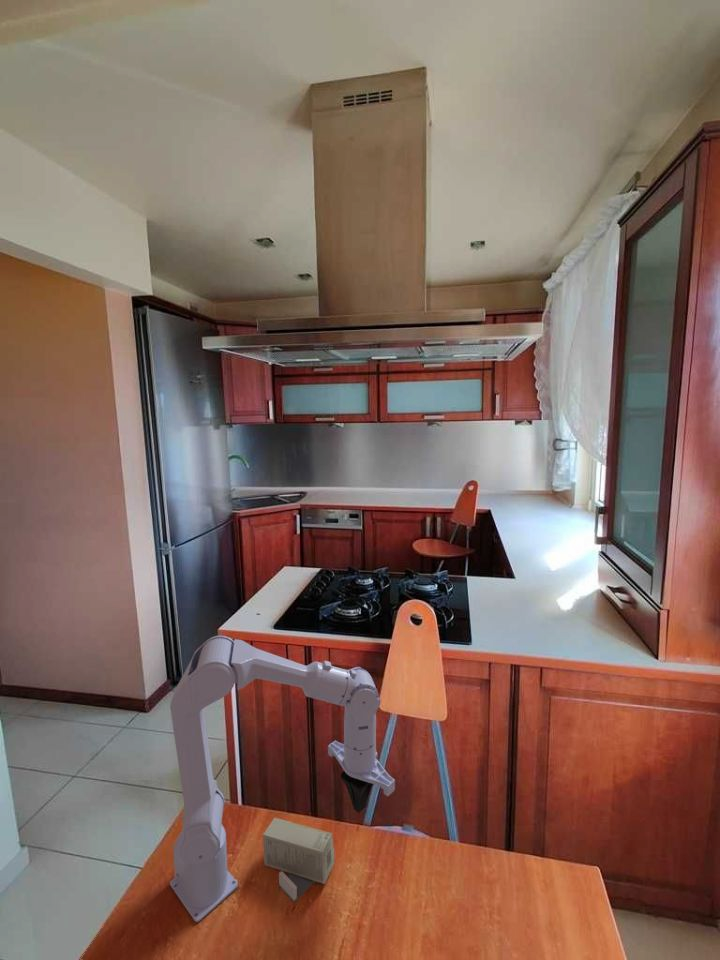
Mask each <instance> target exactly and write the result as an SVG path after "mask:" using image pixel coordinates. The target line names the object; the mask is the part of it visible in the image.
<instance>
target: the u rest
mask: <svg viewBox="0 0 720 960" xmlns="http://www.w3.org/2000/svg"><path fill="white" fill-rule="evenodd" d="M333 849H334V863H335V862H336V861H335V859H336V857H335V848H334V847H333ZM314 883H316V881H313V880H310V879H307V878H304V877H301V876H297V875H294V874H291V873H289V875H288V876H287V875H286V873H284V871H282V870H280V872H279V873H278V884H279V885H278V886H279V888H280V890H282V891H283V892H284V893H285V894H286V895H287V897H288V898H289V899H290V900H291V901H292V902H293V903H296V902H297V901H298V900H299V899H300V897H302V895H303V894H304V893H305V892H306V891H308V889H309V888H311V887H312V885H313V884H314Z"/></svg>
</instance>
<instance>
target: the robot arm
mask: <svg viewBox="0 0 720 960" xmlns="http://www.w3.org/2000/svg"><path fill="white" fill-rule="evenodd" d="M254 680H263V681H268V682H272V683H277V684H278V683H279V684H283V685H288V686H293V687H299V688H301V689H302V691H303V694H304V695H305V697H307V698H311V699H315V700H318V701H323V702H325V703H329V704H333V705H337V706H341V707H344V715H343V743H341V742H339V741H337V740H334V741H333V742H330V744H328V746H327V755H328V756H330V757H331V758H333V757H335V758H336V760H337V762H338V763H339V765H340V766H341V768H342V770H343V771H341V774H340V779H341V780H342V782H343V783H344V785H345V787H346V789H347V792H348V795H349V798H350V801H351V804H352V807H353V810H354V811H355V812H356V813H358V814H359V813H361V812H362V811H363V810H364V809H365V808H366V807H367V803H368V800H369V796H370V793H371V790H372V788H373V786H377V787H378V788H380V789H382V791H383V795H385V796H386V797H389V796H390V795H392V793H393V792H394V791H395V789H396V779H395V778H393V777H392V776H391V775H390V774H389V773H388V772H387V770H386V769H385V768H384V767H383V765H382V764H381V763H380V761H379V760H378V759H377V758H378V752H377V740H376V739H377V732H376V731H377V715H376V712H377V711H378V710H379V708H380V705H381V699H380V695H379V691H378V689H377V688H376V687H377V686H376V685H375V682H374V679H373V677H372V675H371V674H370V673H369V671H367V670H366V669H364V668H362V667H360V666H355V667H352V668H350V669H345V668H340V667H337V666H334V665H332V662H331V661H327V660H324V661H323V662H319V661H313V662H311V663H309V664H308V665H307V664H306V665H305V664H303V663H302V664H301V663H299V662H297V661H296V662H295V661H294V660H291V659H287V658H284V657H282V656H279V655H276V654H273V653H272V652H271V653H270V652H268V651H265V650H263V649H259V648H256V647H254V646H253V645H251V644H249V643H247V642H246V641H244V640H242V639H234V640H233V639H232V638H231V637H229V636H226V635H214V636H212V637H210V638H208V639H207V640H206V641H205V642H203V643H202V644H201V645H200V646H199V647H197V648H196V650H195V651H194V653H193V655H192V658H191V659H190V661H189V663H188V665H187V667H186V669H185V671H184V673H183V674H182V676H181V678H180V680H179V682H178V683H177V686H176V687H175V689H174V690H173V691H174V692H173V694H172V697H171V699H170V700H171V701H170V708H169V709H170V715H171V721H172V728H173V729H172V730H173V735H174V741H175V742H174V744H175V750H176V756H177V764H178V769H179V770H178V771H179V776H180V784H181V790H182V791H181V792H182V798H183V810H182V812H183V814H182V830H181V832H180V833H179V834H178V835H177V837H176V839H175V842H174V845H173V864H174V877H173V878H172V879H171V880H170V881H169V885H170V887H171V888H172V890H173V891H174V894H176V897H178V899H179V900H180V902H181V903H182V905H183V907H185V909H186V910H187V912H188V913H189V916H190V917H192V920H193V921H194V922H195V923H199V922H200V921H201V920H203V919H204V918H205V916H207V915H208V914H209V913H211V912H212V910H214V909H215V908H216V907H217V906H219V905H220V903H222V902H223V901H224V900H225V899H227V897H228V896H230V895H231V894H232V893H233V892H234V891H236V889H238V888H239V882H238V881H237V880H236V879H235V877H234V876H233V875H232V873H231V872H230V871H229V870H228V853H227V833H226V829H225V827H224V825H223V824H222V823H223V822H222V821H223V813H224V808H225V802H226V800H225V796H224V794H223V793H222V792H221V790H220V789H219V788H218V787H219V786H218V783H217V779H214V774H213V767H212V759H211V751H210V744H209V737H208V728H207V720H206V713H205V708H207V707H208V706H210V705H212V704H214V703H216V702H218V701H219V700H221V699H223V698H225V696H227V695H228V694H230V692H231V691H232V689H233V688H234V686H235V684H237V686H236V687H237V689H236V690H237V691H239V690H242V689H243V688H245V687H246V686H248V684H250V683H252V682H253V681H254Z"/></svg>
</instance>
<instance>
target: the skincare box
mask: <svg viewBox="0 0 720 960" xmlns="http://www.w3.org/2000/svg"><path fill="white" fill-rule="evenodd" d="M262 840H263V842H262V843H263V857H264V859H263V860H264V866H266V867H270V868H273V869H276V870H279V871H282V872H285V873H288V874H294V875H297V876H301V877H304V878H307V879H310V880H313V881H315V883H316V882H317V883H320V884H323V885H325V884H327V883H326V882H327V880H328V878H329V876H330V874H331V871H332V869H333V866H335V865H334V864H335V862H334V850H335V848H334V837H333V833H332V832H329V831H326V830H321V829H318V828H314V827H311V826H307V825H303V824H300V823H296V822H292V821H289V820H285V819H281V818H278V817H274V818H273V819H272V821H271V822H270V824H269V825H268V827H267V828H266V830H264V833H263V834H262ZM333 848H334V849H333Z"/></svg>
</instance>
